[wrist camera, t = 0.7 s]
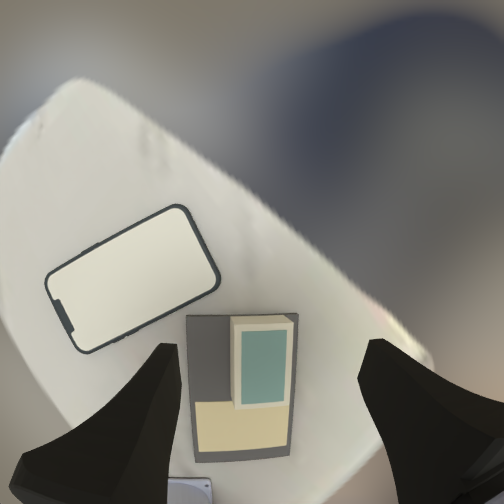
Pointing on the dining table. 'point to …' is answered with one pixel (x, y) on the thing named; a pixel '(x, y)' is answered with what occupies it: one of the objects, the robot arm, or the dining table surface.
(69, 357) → the dining table surface
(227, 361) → the mat
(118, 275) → the phone case
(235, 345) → the card box
